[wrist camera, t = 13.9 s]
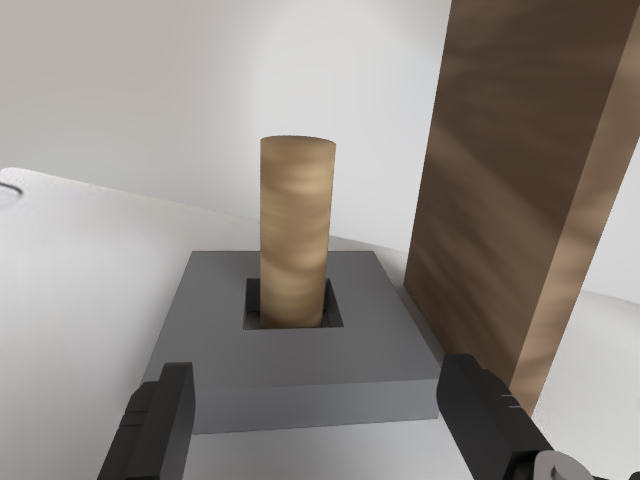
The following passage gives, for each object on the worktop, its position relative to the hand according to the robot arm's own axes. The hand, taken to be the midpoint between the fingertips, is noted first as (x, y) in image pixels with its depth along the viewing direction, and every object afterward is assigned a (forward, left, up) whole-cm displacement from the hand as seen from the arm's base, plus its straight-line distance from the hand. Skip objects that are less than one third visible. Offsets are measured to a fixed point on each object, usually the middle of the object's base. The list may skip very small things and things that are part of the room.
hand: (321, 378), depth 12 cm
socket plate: (0, -14, -9) cm, 17 cm away
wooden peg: (0, -14, -9) cm, 16 cm away
